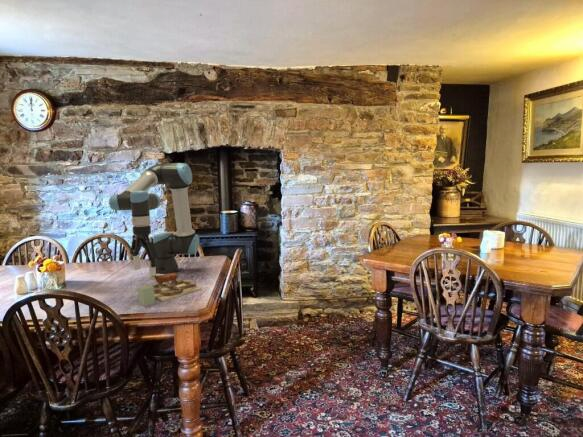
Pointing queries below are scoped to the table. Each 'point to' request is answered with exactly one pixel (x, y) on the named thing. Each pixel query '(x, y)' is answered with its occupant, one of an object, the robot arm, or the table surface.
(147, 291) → the sage-green tail block
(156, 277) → the bull figurine
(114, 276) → the table surface
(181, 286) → the beech board
